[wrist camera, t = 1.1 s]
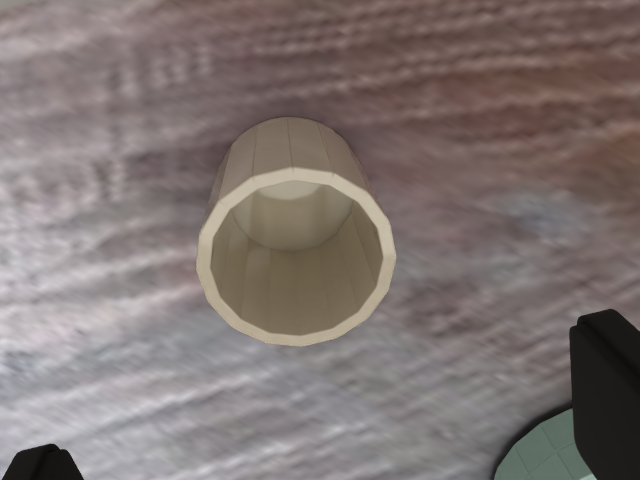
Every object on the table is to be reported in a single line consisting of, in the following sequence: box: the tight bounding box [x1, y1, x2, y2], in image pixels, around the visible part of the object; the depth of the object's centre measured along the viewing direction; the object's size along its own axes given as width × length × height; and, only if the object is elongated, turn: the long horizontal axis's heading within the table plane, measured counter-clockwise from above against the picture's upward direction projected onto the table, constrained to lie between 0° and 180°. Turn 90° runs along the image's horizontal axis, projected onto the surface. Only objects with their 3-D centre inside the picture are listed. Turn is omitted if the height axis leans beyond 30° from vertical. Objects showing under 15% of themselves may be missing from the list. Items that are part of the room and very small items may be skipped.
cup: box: [196, 117, 397, 346], centre depth 23 cm, size 7×7×8 cm
